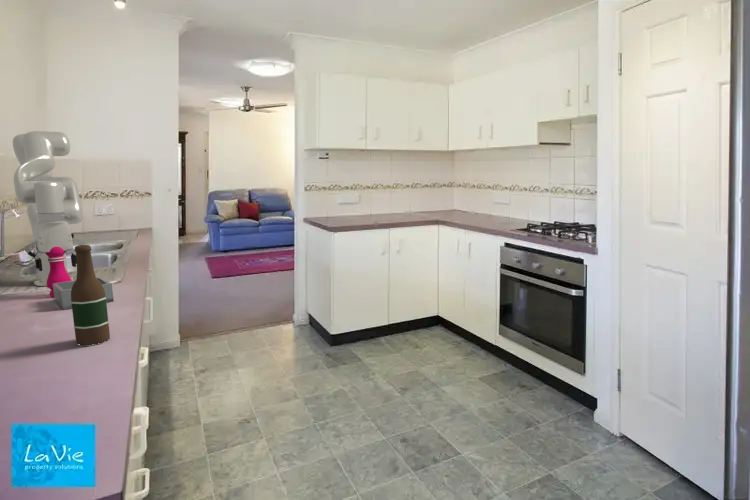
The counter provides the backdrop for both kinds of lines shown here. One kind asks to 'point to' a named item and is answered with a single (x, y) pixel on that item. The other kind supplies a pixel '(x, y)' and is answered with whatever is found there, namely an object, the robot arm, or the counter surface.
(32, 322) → the counter surface
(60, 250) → the pepper mill
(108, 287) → the bin
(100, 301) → the beer bottle
